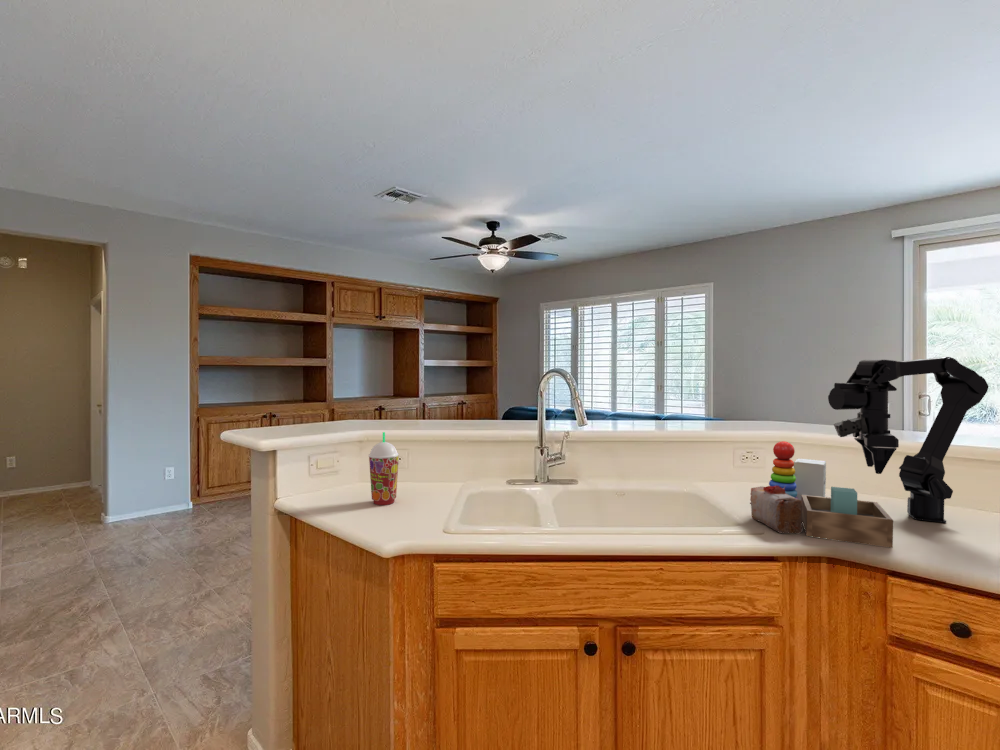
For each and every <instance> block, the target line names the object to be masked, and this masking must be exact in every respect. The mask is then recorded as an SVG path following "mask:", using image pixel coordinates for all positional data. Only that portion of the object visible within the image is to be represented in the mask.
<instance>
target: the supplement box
mask: <svg viewBox="0 0 1000 750" xmlns="http://www.w3.org/2000/svg"><path fill="white" fill-rule="evenodd" d="M793 462H794V466H793V468H794V469H795V474H794V476H795V477H796V481H795V483H796V486H797V487H796V489H795V490H796V491H797V496H796V497H797V498H798V499H799V500H801V495H810V496H820V497H826V488H827V487H826V483H827V477H826V476H827V461H826V460H820V459H809V458H796V459H795V461H793Z"/></svg>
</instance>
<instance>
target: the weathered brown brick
mask: <svg viewBox="0 0 1000 750" xmlns="http://www.w3.org/2000/svg"><path fill="white" fill-rule="evenodd" d="M784 489H785V487H784V488H781V487H779V486H778V485H777V486H770V485H768V486H755V487H751V488H750V499H749V500H750V502H749V504H750V511H751V518H752V520H753V519H754V520H756V521H757V522H760V523H762V524H764V525H766V526H767V527H769V528H771V529H772V530H774V531H776V532H778V533H780V534H782V533H783V534H787V533H788V534H796V533H799V534H801V533H802V532H803V523H802V507H803V506H802V501H801V500H799V499H796V498H794V497H792V496H790V495H788V494H786V493H785V490H784Z"/></svg>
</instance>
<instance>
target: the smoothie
mask: <svg viewBox="0 0 1000 750" xmlns="http://www.w3.org/2000/svg"><path fill="white" fill-rule="evenodd" d="M399 456H400V453H399V452H398V451H397V448H396V447H395V445H394V444H393V443H391V442H388V441H386V432H385V431H383V432H382V441H380V442H378V443H376V444H375V445H374V446H372V449H371V451H370V453H369V454H368V461H369V462H368V463H369V473H370V475H369V477H370V493H371V500H372V501H373V504H375V505H377V506H387V505H391V504H394V502H395V499H396V498H397V492H398V491H397V489H398V488H397V487H398V472H399Z"/></svg>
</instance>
